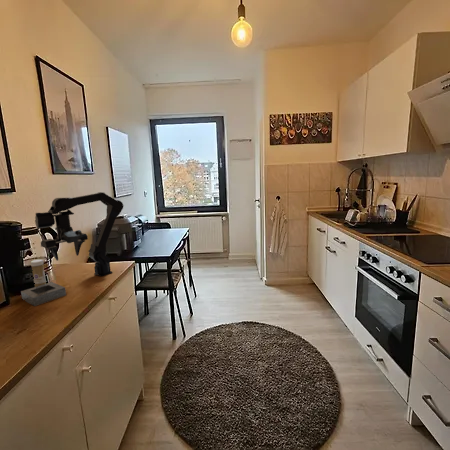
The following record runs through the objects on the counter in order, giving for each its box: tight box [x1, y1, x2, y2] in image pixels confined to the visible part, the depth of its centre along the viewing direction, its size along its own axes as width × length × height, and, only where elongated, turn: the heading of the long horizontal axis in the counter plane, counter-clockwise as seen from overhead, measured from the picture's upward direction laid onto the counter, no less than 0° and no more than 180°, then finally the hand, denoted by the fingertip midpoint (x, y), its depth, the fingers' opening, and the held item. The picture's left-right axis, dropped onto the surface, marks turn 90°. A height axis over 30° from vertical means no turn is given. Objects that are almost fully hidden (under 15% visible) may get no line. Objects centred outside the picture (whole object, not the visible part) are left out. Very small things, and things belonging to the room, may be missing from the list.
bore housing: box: [20, 281, 67, 307], centre depth 119 cm, size 12×12×4 cm
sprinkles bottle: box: [30, 259, 47, 287], centre depth 127 cm, size 5×5×13 cm
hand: (67, 257), depth 133 cm, fingers open, 9 cm apart
